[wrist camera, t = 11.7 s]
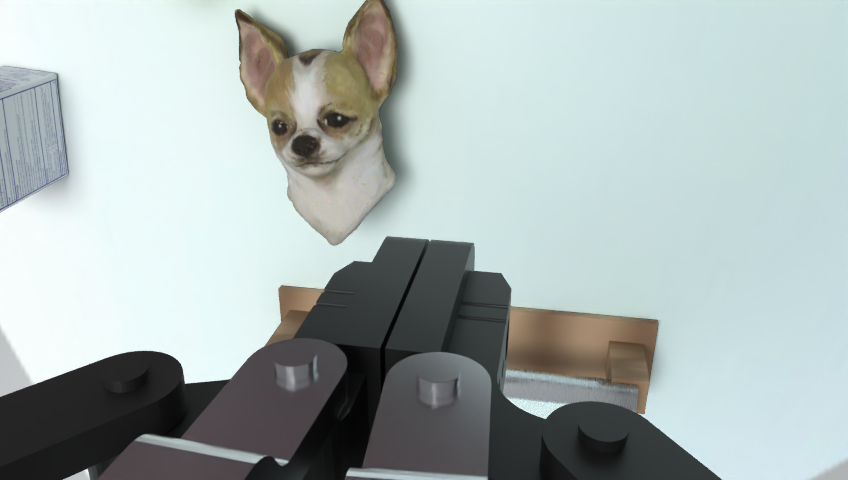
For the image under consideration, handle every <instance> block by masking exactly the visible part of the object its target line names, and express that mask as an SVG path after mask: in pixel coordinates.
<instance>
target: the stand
mask: <svg viewBox="0 0 848 480" xmlns="http://www.w3.org/2000/svg"><path fill="white" fill-rule="evenodd" d="M278 290H279V301H280V313H281V323H280V325H279V326H278V328H277V329H276V331H275V332H274V333H273V335H272V336H271V338H270V339H269V341H268V342H267V344H266V345H265V346H267V345H269V344H272V343H275V342H278V341H282V340H287V339H292V338H293V337H294V335H295V334H296V332H297V331H298V329H299V327H300V326H301V324H302V323H303V321H304V320H305V318H306V317H307V315H308V313H309V312H310V310H311V309H312V307H313V306H314V305H316V301H317V299H318V298H319V296H320V295H321V293H322V292H324V289H313V288H302V287H291V286H281V287H280V288H279V289H278ZM657 330H658V320H651V319H640V318H629V317H618V316H607V315H597V314H586V313H575V312H564V311H553V310H542V309H531V308H520V307H510V321H509V338H508V355H507V368H510V369H520V370H529V371H539V372H548V373H558V374H567V375H577V376H586V377H596V378H605V379H611V382H619V383H628V384H638V403H637V410H636V412H635V413H639V414H645V407H646V401H647V395H648V388H649V382H650V375H651V369H652V362H653V356H654V349H655V343H656V336H657ZM265 346H264V347H265Z"/></svg>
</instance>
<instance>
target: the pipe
mask: <svg viewBox="0 0 848 480" xmlns="http://www.w3.org/2000/svg"><path fill="white" fill-rule="evenodd" d="M503 394H504V396H505V397H506V398H511V399H520V400H529V401H538V402H547V403H556V404H565V405H567V404H571V403H576V402H583V401H596V402H605V403H610V404H615V405H618V406H622V407H624V408H627V409H629V410H631V411H633V412H636V410H637V403H638V384H628V383H619V382H611V379H605V378H596V377H586V376H577V375H567V374H558V373H548V372H539V371H529V370H520V369H510V368H506V375H505V382H504V389H503Z"/></svg>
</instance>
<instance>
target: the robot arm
mask: <svg viewBox="0 0 848 480" xmlns="http://www.w3.org/2000/svg"><path fill="white" fill-rule="evenodd" d="M474 258H475V251H474V243H467V242H454V241H441V240H431V241H429V240H427V239H414V238H402V237H389V236H387V237H386V238H385V240H384V241H383V243H382V245H381V247H380V249H379V250H378V252H377V254H376V256H375V258H374V259H373V261H372V262H360V261H354V262H352V263H351V264H349V265H347V266H346V267H344V268H342V269H341V270H339V271H338V272H336V273H334V275H333V276H332V278H331V279H330V281H329V282H328V284H327V285H326V287H325V289H324V292H322V293H321V295H320V296H319V298H318V299H317V301H316V305H314V306H313V307H312V309H311V310H310V312H309V313H308V315H307V317H306V318H305V320H304V321H303V323H302V324H301V326H300V327H299V329H298V331H297V332H296V334H295V335H294V337H293V338H292V339H287V340H282V341H278V342H275V343H272V344H269V345H267V346H265V347H263V348H261V349H259V350H258V351H256V352H255V353H253V354H252V355H251V356H250V357H249V358H248V359H247V361H246V362H245V363H244V364H243V365H242V366H241V368H240V369H239V370H238V371H237V372H236V373H235V375H234V376H233V377H232V378H231V379H229V380H221V381H211V382H200V383H189V384H185V382H184V375H183V369H182V366H181V364H180V363H179V361H178V360H176V359H175V358H174V357H172V356H170V355H168V354H165V353H161V352H155V351H134V352H127V353H122V354H118V355H114V356H111V357H108V358H105V359H103V360H100V361H97V362H94V363H92V364H89V365H86V366H84V367H81V368H78V369H75V370H73V371H70V372H67V373H64V374H62V375H59V376H56V377H53V378H51V379H48V380H45V381H43V382H40V383H37V384H34V385H32V386H29V387H26V388H24V389H21V390H18V391H15V392H13V393H10V394H7V395H4V396H2V397H0V480H63V479H65V478H67V477H70V476H72V475H74V474H76V473H78V472H81V471H83V470H85V469H88V471H89V476H90V480H722V479H720V478H719V477H718V476H717V475H715V474H714V473H713V472H712V471H710V470H709V469H708V468H707V467H705V466H704V465H703V464H702V463H700V462H699V461H698V460H697V459H695V458H694V457H693V456H692V455H690V454H689V453H688V452H687V451H685V450H684V449H683V448H682V447H680V446H679V445H678V444H677V443H675V442H674V441H673V440H672V439H670V438H669V437H668V436H667V435H665V434H664V433H663V432H661V431H660V430H659V429H658V428H656V427H655V426H654V425H653V424H651V423H650V422H649V421H648V420H646V419H645V418H643V417H642V416H641V415H639V414H637V413H635V412H633V411H631V410H629V409H627V408H624V407H622V406H618V405H615V404H610V403H605V402H596V401H583V402H576V403H571V404H567V405H565V406H562V407H560V408H558V409H556V410H555V411H553V412H552V413H551V414H550V415H549V416H548V417H547V419H543V418H540V417H537V416H535V415H532V414H530V413H527V412H525V411H524V410H522V409H520V408H518V407H517V406H515V405H514V404H512V403H511V402H510V401H509V400H508V399H507V398H506V397H505V396H504V394H503V389H504V382H505V375H506V368H507V355H508V338H509V321H510V304H511V288H510V286H509V285H508V283H507V281H506V280H505V278H504V277H503V275H502V274H501V273H491V272H479V271H474Z"/></svg>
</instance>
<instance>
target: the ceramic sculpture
mask: <svg viewBox="0 0 848 480" xmlns="http://www.w3.org/2000/svg"><path fill="white" fill-rule="evenodd" d="M235 18H236V23H237V26H238V30H239V60H240V62H241V64H240V67H239V69H240V79H241V81H242V83H243V85H244V87H245V90H246V96H247V99H248V100H249V102H250V103H251V104H252V105H253V107H254V108H255V109H256V110H257V111H258V112H259V113H261V114H262V115H263V116H265V117H266V118H267V123H268V128H269V133H270V139H271V144H272V146H273V148H274V150H275V153H276V155H277V157H278V158H279V160H280V161H281V163H282V164H283V166H284V168H285V169H286V171H287V173H288V176H287V177H288V184H289V185H288V188H287V195H288V198H289V199H290V200H291V201H292V203H293V206H294V208H295V209H296V211H297V212H298V213H299V214H300V215H301V216H302V217H303V218H304V219H305V220H306V221H307V222H308V223H309V225H310V226H311V227H313V228H314V229H315V230H316V231H317V232H319V233H320V234H321V235H322V236H323V237H324V238H326V239H327V241H328V242H329V243H330V244H331V245H333V246H334V245H338V244H340V243H342V242H343V241H344V240H345V239H346V237H347V236H349V235H350V234H351V233H352V232H353V231H354V230H355V229H357V228H358V226H359V225H360V223H361V222H362V221H363V220H364V218H365V217H366V216H367V215H368V213H369V212H370V211H371V210H372V209H373V208H374V206H375V205H376V204H377V203H378V202H379V201H380V200H381V199H382V198H383V197H384V195H385V194H386V193H387V192H388V191H389V190H390V189H391V188H393V186H394V185H395V182H396V175H395V173H394V171H393V170H392V168H391V166H390V165H389V164H388V163H387V161H386V158H385V154H384V151H383V146H382V142H383V138H382V135H381V130H382V125H381V122H380V119H379V108H380V107H381V105H382V104H383V102H384V101H385V99H386V98H387V97H388V96H389V94H390V92H391V90H392V87H393V85H394V82H395V80H396V77H397V57H398V48H397V40H396V35H395V31H394V27H393V23H392V19H391V16H390V13H389V10H388V8H387V6H386V5H385V2H384V0H366V1H365V2H364V4H363V5H362V6H361V7H360V9H359V10H358V11H357V12H356V14H355V15H354V16H353V18H352V19H351V20H350V22H349V23H348V26H347V28H346V31H345V34H344V38H343V43H342V44H343V50H342V51H341V52H340V53H337V52H335V51H331V50H325V49H312V50H309V51H306V52H303V53H300V54H297V55H294V56H292V57H290V58H288V52H287V48H286V45H285V42H284V41H283V40H282V38H281V37H280V36H279V35H278V34H276V33H275V32H273V31H271V30H270V29H268V28H267V27H265V26H263V25H262V24H260V23H258V22H257V21H255V20H254V19H252V18H251V17H250V16H249V15H247V14H246V13H245V12H243V11H242V10H240V9H237V10H235Z"/></svg>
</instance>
